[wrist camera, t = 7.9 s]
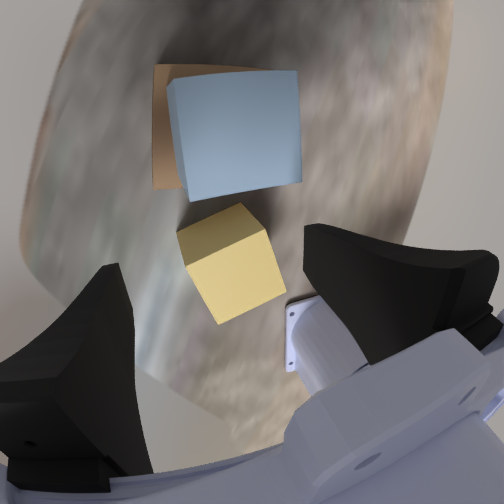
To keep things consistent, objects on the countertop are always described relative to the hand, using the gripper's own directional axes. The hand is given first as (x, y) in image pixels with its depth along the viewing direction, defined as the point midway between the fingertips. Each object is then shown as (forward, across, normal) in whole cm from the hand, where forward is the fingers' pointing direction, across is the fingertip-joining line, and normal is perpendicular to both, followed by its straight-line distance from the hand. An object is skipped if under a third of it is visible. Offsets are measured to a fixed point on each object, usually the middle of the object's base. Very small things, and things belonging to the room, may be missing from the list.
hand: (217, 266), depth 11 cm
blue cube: (+7, -2, -4) cm, 9 cm away
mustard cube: (+10, -2, +5) cm, 12 cm away
